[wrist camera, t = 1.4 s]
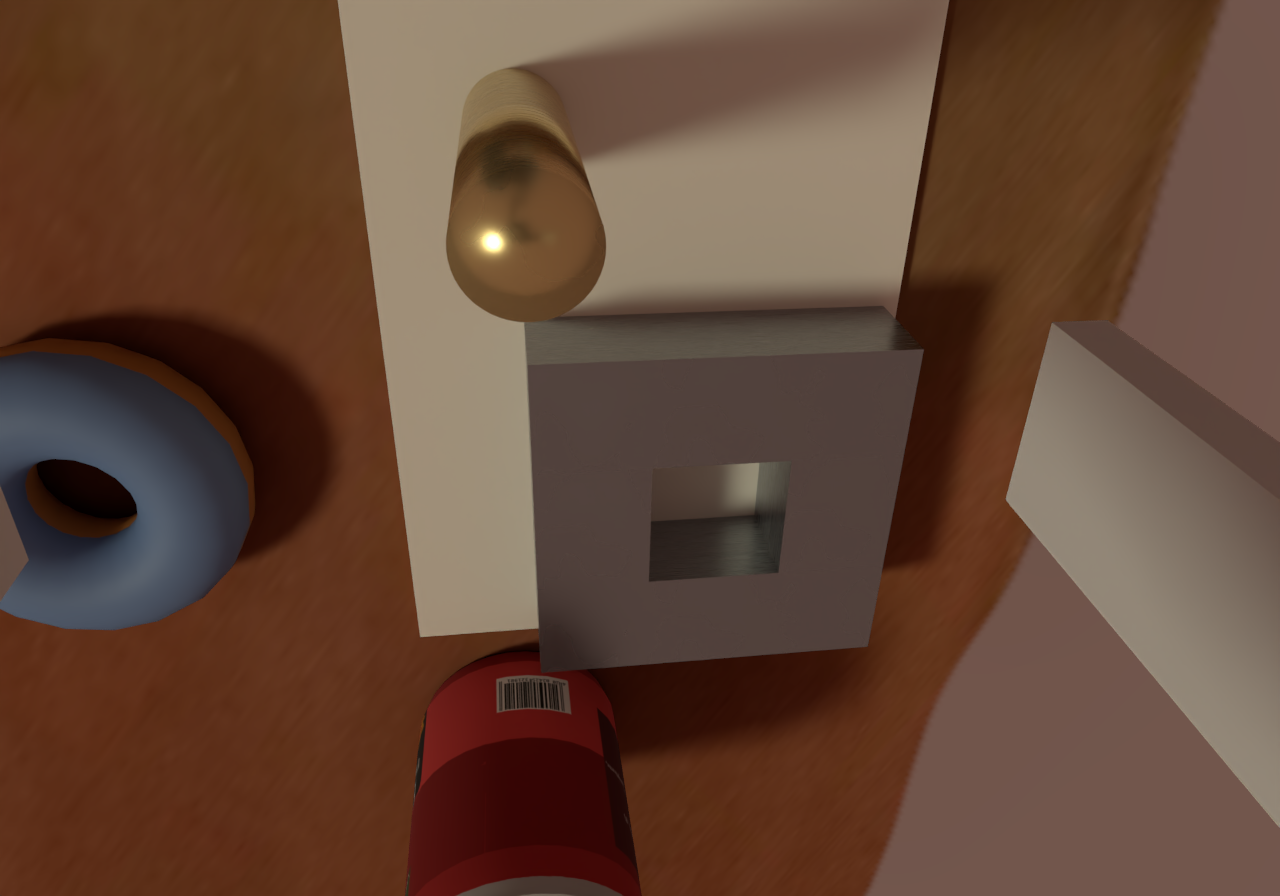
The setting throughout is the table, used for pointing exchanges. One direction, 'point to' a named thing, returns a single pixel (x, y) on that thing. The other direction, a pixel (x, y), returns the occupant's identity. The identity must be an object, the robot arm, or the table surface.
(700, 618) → the square hole block
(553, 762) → the canned food
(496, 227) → the pin
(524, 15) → the mat
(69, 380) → the doughnut
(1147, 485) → the robot arm
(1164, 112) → the table surface
